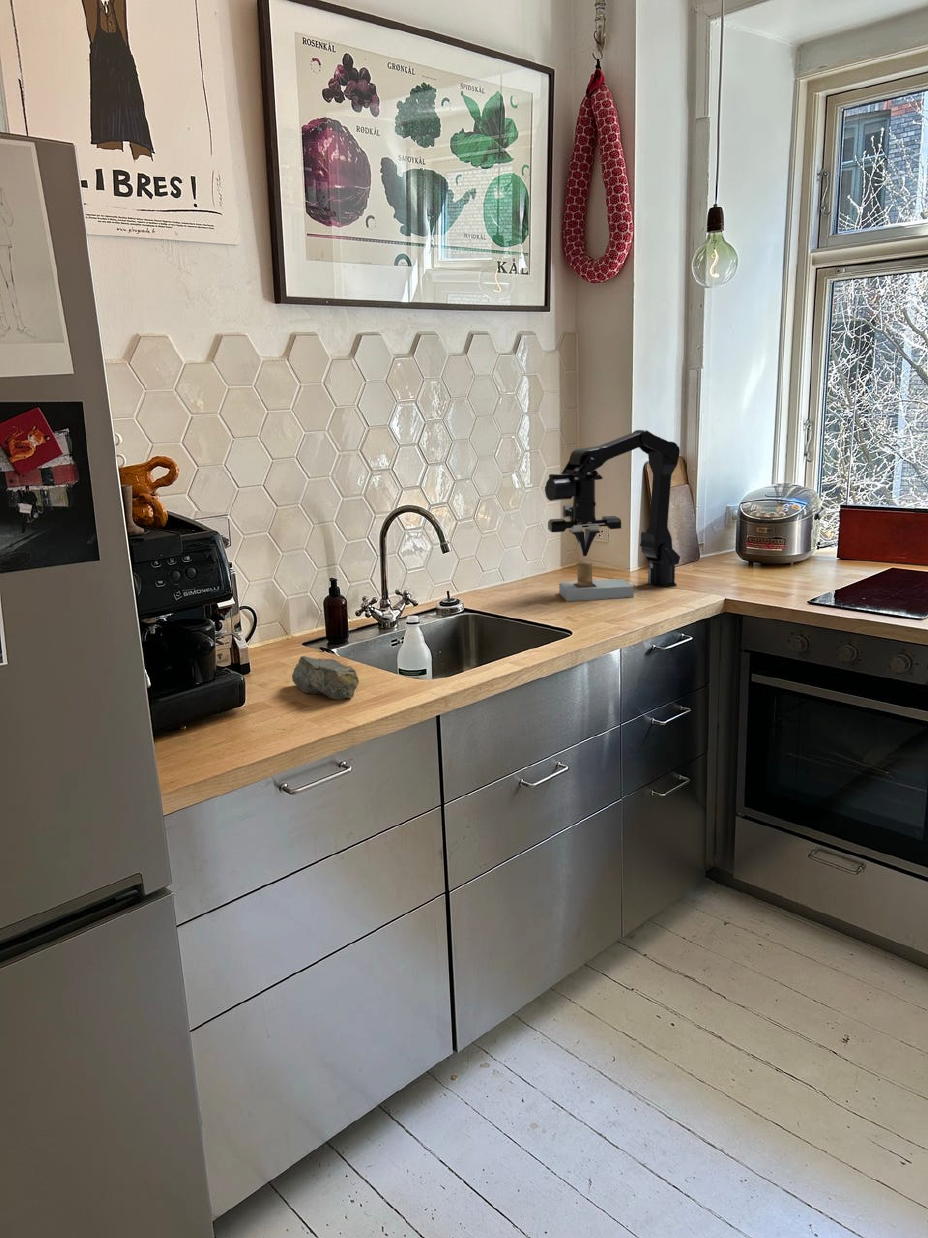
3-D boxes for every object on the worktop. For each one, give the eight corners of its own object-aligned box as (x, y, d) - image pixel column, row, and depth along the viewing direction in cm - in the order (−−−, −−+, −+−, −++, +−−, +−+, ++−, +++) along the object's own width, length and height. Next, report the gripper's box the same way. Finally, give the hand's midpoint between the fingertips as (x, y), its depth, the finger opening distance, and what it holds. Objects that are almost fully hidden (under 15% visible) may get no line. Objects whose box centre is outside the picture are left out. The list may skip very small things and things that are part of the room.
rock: (376, 669, 169) (338, 669, 161) (371, 704, 169) (333, 706, 162) (316, 652, 180) (278, 651, 172) (312, 685, 180) (273, 686, 172)
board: (623, 589, 246) (623, 578, 246) (633, 597, 237) (633, 586, 236) (559, 593, 245) (559, 582, 244) (566, 601, 235) (566, 590, 235)
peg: (590, 593, 243) (590, 561, 241) (594, 597, 239) (594, 564, 237) (575, 594, 242) (575, 562, 240) (579, 598, 238) (578, 565, 236)
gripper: (611, 492, 243) (611, 549, 246) (543, 496, 241) (544, 552, 245) (621, 497, 232) (621, 556, 236) (551, 500, 230) (552, 560, 234)
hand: (584, 555), depth 238 cm, fingers closed
